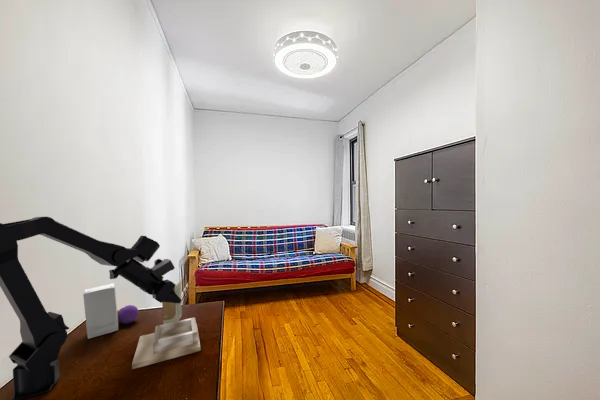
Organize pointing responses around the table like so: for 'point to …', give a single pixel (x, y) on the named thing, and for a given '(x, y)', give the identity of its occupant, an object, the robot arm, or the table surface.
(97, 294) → the skincare box
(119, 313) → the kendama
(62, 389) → the table surface
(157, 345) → the collar holder
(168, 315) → the skincare box
